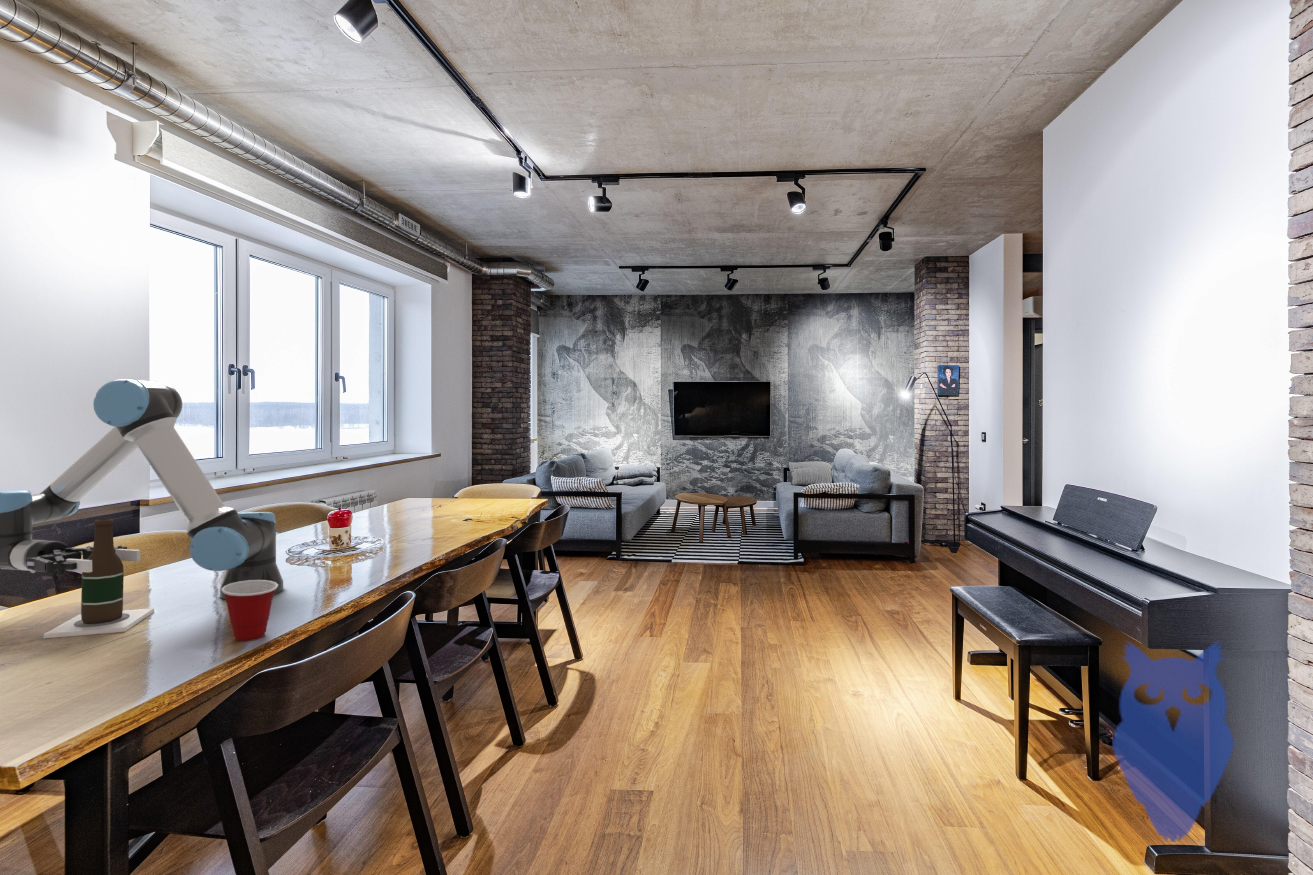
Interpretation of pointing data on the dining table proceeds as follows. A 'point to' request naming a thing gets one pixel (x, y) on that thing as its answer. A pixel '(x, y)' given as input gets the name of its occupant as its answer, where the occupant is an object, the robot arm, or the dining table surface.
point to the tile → (99, 624)
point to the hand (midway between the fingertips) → (115, 560)
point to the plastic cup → (249, 607)
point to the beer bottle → (102, 579)
